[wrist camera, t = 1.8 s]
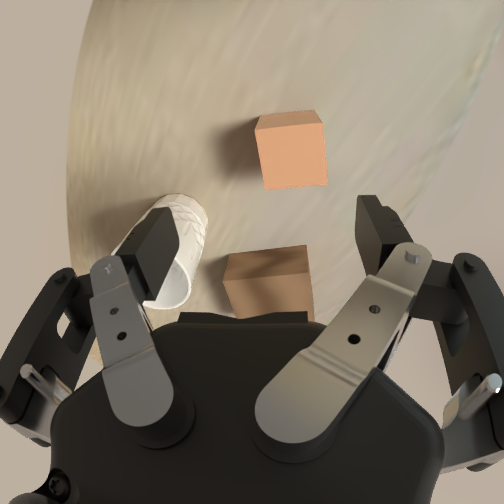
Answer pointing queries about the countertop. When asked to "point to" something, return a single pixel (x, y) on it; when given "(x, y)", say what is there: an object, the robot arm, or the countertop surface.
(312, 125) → the terracotta block
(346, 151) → the countertop surface
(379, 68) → the countertop surface
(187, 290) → the white cup
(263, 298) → the walnut block
